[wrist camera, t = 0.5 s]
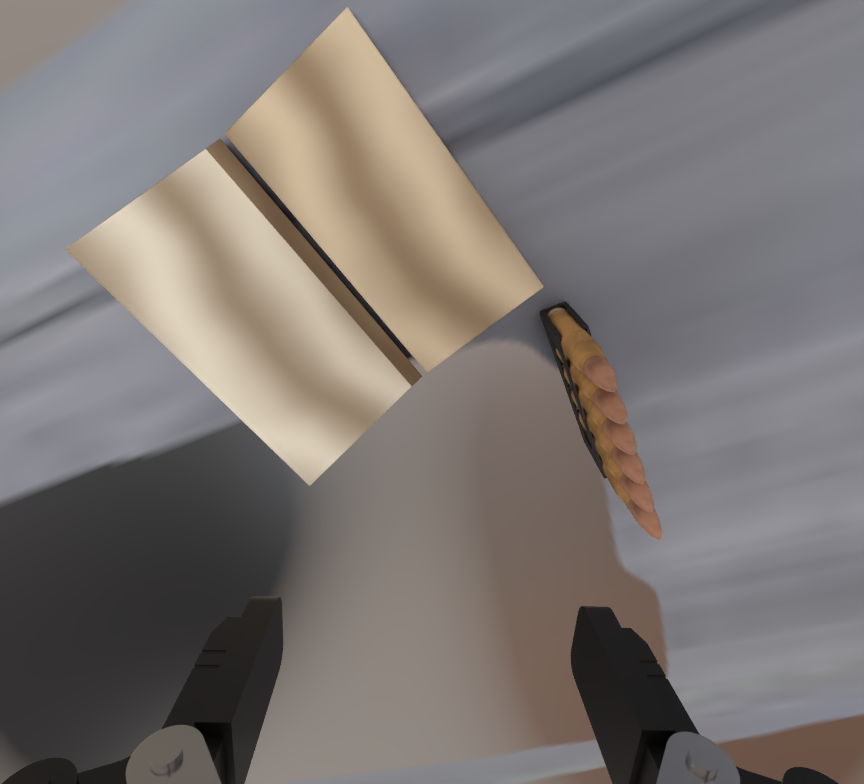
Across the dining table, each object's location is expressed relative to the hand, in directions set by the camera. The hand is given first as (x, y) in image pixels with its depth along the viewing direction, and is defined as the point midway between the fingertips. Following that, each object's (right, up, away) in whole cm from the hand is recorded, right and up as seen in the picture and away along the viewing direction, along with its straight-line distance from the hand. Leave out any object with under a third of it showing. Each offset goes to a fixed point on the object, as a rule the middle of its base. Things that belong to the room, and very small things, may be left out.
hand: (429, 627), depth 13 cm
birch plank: (-10, +11, +17) cm, 23 cm away
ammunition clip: (+10, +7, +21) cm, 25 cm away
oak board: (-2, +17, +17) cm, 24 cm away
